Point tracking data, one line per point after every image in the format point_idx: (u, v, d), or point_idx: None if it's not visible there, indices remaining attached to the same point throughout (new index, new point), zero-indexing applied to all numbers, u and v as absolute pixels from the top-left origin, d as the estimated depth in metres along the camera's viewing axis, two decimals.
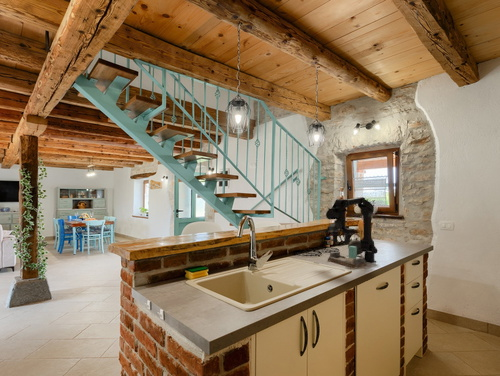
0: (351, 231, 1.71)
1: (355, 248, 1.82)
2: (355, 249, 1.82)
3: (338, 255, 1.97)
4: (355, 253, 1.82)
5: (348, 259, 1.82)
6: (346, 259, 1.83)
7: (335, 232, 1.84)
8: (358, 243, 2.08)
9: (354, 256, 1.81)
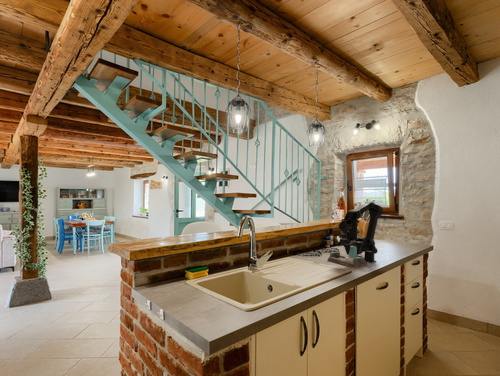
0: (341, 240, 1.80)
1: (355, 248, 1.82)
2: (355, 249, 1.82)
3: (338, 255, 1.97)
4: (355, 253, 1.82)
5: (348, 259, 1.82)
6: (346, 259, 1.83)
7: (358, 243, 1.86)
8: None
9: (354, 256, 1.81)
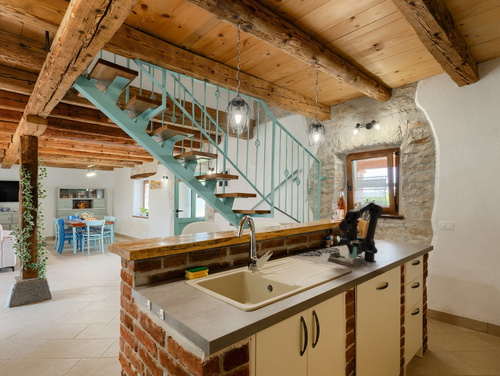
0: (341, 240, 1.80)
1: (355, 248, 1.82)
2: (355, 249, 1.82)
3: (338, 255, 1.97)
4: (355, 253, 1.82)
5: (348, 259, 1.82)
6: (346, 259, 1.83)
7: (355, 244, 1.84)
8: None
9: (354, 256, 1.81)
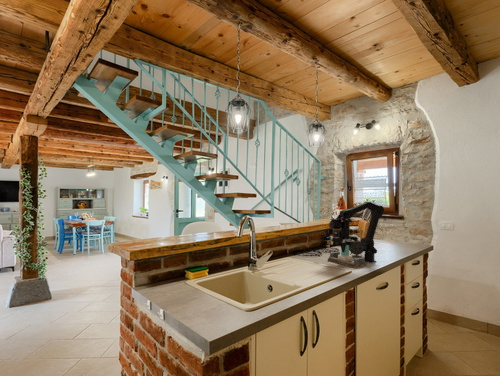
0: (334, 239, 1.85)
1: (347, 246, 1.87)
2: (347, 247, 1.87)
3: None
4: (347, 251, 1.87)
5: (340, 257, 1.87)
6: (339, 257, 1.89)
7: (347, 242, 1.90)
8: (358, 243, 2.08)
9: (346, 254, 1.87)
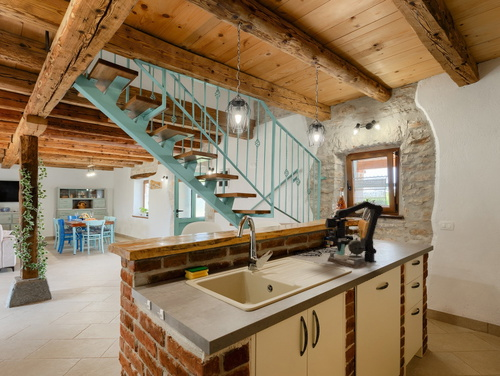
0: (330, 238, 1.88)
1: (343, 245, 1.91)
2: (343, 246, 1.91)
3: None
4: (343, 250, 1.91)
5: (336, 256, 1.91)
6: (335, 256, 1.92)
7: (343, 241, 1.93)
8: (358, 243, 2.08)
9: (342, 253, 1.90)
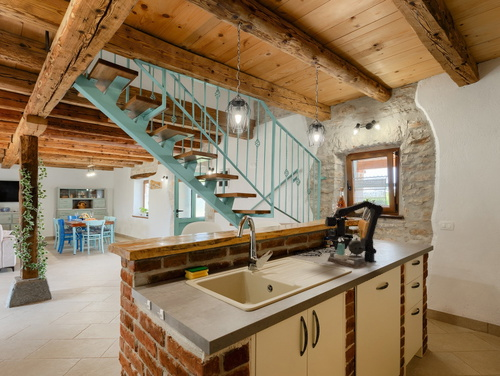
0: (330, 236, 1.88)
1: (343, 245, 1.91)
2: (343, 246, 1.91)
3: None
4: (343, 250, 1.91)
5: (336, 256, 1.91)
6: (335, 256, 1.92)
7: (346, 240, 1.94)
8: (358, 243, 2.08)
9: (342, 253, 1.90)
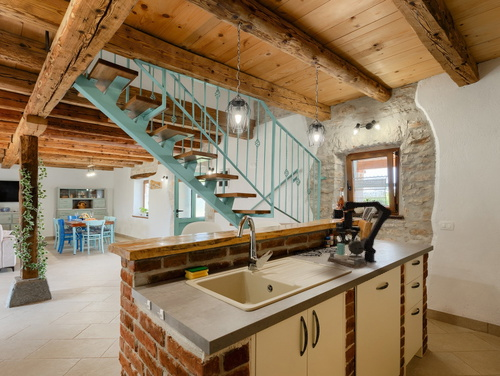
0: (337, 229, 1.91)
1: (343, 245, 1.91)
2: (343, 246, 1.91)
3: None
4: (343, 250, 1.91)
5: (336, 256, 1.91)
6: (335, 256, 1.92)
7: (353, 232, 1.97)
8: (358, 243, 2.08)
9: (342, 253, 1.90)
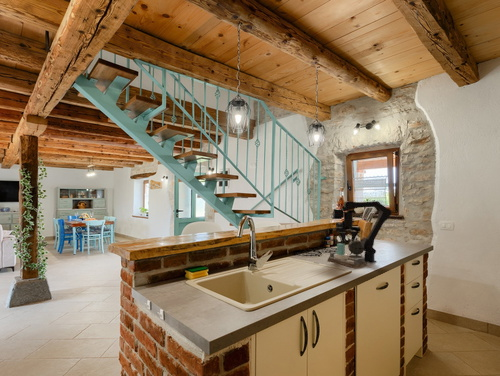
0: (337, 229, 1.91)
1: (343, 245, 1.91)
2: (343, 246, 1.91)
3: None
4: (343, 250, 1.91)
5: (336, 256, 1.91)
6: (335, 256, 1.92)
7: (353, 232, 1.97)
8: (358, 243, 2.08)
9: (342, 253, 1.90)
